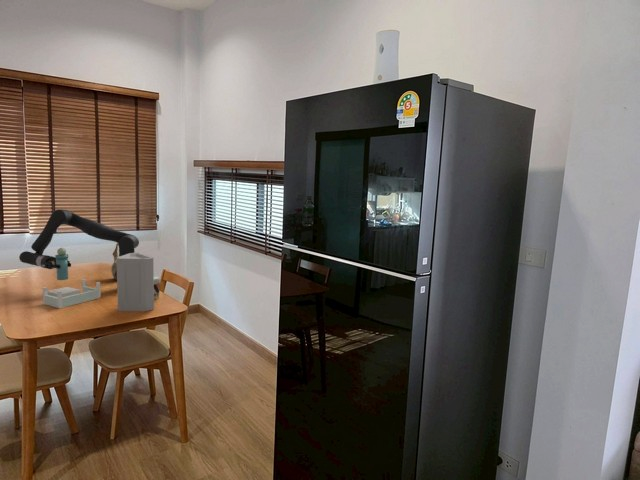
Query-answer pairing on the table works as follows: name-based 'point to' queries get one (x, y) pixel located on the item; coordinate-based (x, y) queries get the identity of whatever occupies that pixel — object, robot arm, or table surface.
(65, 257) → the teal peg with ball
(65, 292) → the stone tile
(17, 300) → the table surface
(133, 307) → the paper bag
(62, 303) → the rectangular frame with posts
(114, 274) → the ceramic vessel
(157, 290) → the coffee cup
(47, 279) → the table surface
